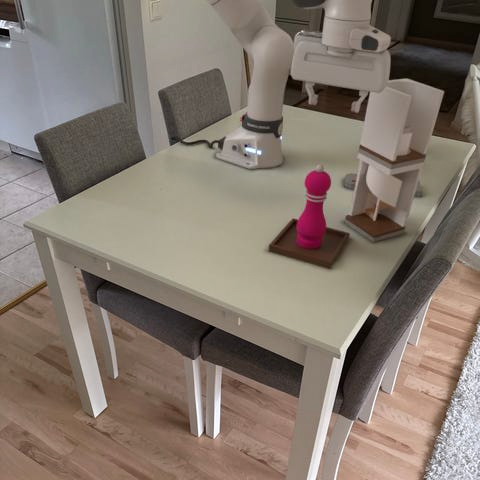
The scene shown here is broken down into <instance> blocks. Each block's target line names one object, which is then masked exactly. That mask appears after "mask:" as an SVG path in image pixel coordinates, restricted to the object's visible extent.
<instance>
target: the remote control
mask: <svg viewBox="0 0 480 480" xmlns="http://www.w3.org/2000/svg"><path fill="white" fill-rule="evenodd" d="M357 174H358V173H353V172H352V173H346V175H345V176H344V186H345V188H348V189H349V190H354V189H355V184H356V179H357ZM421 196H422V185H421V183H420V180H419V181H418V185H417V188H416V192H415V195H414V197H419V198H421Z"/></svg>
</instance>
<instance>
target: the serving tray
mask: <svg viewBox="0 0 480 480" xmlns="http://www.w3.org/2000/svg"><path fill="white" fill-rule="evenodd" d="M298 219H299V218H298ZM298 219H297V218H294V217H292V219H291V220H290V221H289V222H288V223H287V224H285V226H284V228H283V229H282V230H281V231H280V232H279V233H278V234H277V235H276V237H274V239H273V240H272V241H271V242H270V243H269V244H268V252H270V253H272V254H273V253H274V254H276V255H280V256H284V257H287V258H291V259H295V260H298V261H301V262H304V263H308V264H312V265H315V266H319V267H322V268H326V269H331V268H332V266H333V264H334V263H335V261H336V260H337V259H338V257H339V255H340V253H341V252H342V250H343V249H344V247H345V245H346V244H347V243H348V241H349V240H350V232H347V231H344V230H340V229H335V228H332V227H329V226H326V232H325V233H324V235H322V244H321V246H320V247H318V248H316V249H306V248H303V247H301V246H299V245H298V244H297V235H298V231H297V229H296V226H297V222H298Z"/></svg>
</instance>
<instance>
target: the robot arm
mask: <svg viewBox="0 0 480 480" xmlns="http://www.w3.org/2000/svg"><path fill="white" fill-rule="evenodd" d="M206 1H207V2H208V3H209V6H211V8H212V9H213V10H214V11H215V13H216V14H217V16H219V18H220V19H221V20H222V21H223V23H224V24H225V25H226V27H227V28H228V29H229V31H230V32H231V33H232V34H233V36H234V38H235V39H236V40H237V42H238V43H239V44H240V46H241V47H242V49H244V51H245V52H246V54H247V55H248V56H249V57H250V59H251V60H252V61H253V71H252V75H251V81H250V83H249V86H248V90H247V110H246V112H245V113H244V114H243V115H241V117H240V118H239V122H240V123H241V125H239V126H238V127H236V128H235V129H233V130H232V131H231V132H229V133H228V134H227V135H226V136H223V137H221V138H220V139H219V140H218V139H215V140H212V141H211V143H210V141H208V140H207V139H198V140H195V141H184V140H183V139H182V138H180V137H179V136H178V135H173V136H171V137H170V140H174V139H176V140H177V141H178V142H180V143H181V144H183V145H186V146H187V145H188V146H190V145H196V144H200V143H205V144H207V147H208V148H211V149H212V148H213V147H214V144H217V148H218V150H217V151H216V154H215V158H216V159H219V160H222V161H224V162H228V163H231V164H234V165H237V166H240V167H243V168H245V169H249V170H256V169H263V168H265V169H266V168H274V167H277V166H279V165H281V164H282V163H283V162H284V158H283V152H282V139H283V137H282V136H283V135H282V134H283V129H284V116H283V109H284V99H285V90H286V86H287V81H288V78H289V76H291V78H292V80H294V81H301V82H305V90H306V92H307V96H308V105H311V106H316V105H317V104H318V99H319V94H316V93H315V90H314V88H313V87H314V86H315V85H316V84H319V85H324V86H325V85H327V86H332V87H337V88H343V89H344V88H345V89H351V90H357V91H359V92H358V96H359V99H358V100H357V101H353V102H352V103H351V108H350V113H356V114H357V113H359V112H360V110H361V103H363V101H364V100H365V98H366V97H367V96H368V95H369V93H370V92H375V93H381V92H382V91H383V90H384V89H385V88H386V87H387V85H388V81H390V73H391V64H392V63H391V58H392V57H391V53H390V51H389V50H388V49H389V47H390V45H391V41H392V37H391V35H389V34H387V33H385V32H384V31H382V30H379V29H378V28H376V27H375V26H372V25H371V19H372V12H371V11H372V10H371V9H372V2H373V0H290V1H291V2H292V4H293V5H294V6H295V7H297V8H300V9H304V10H315V9H316V10H317V9H324V17H323V18H324V19H323V26H322V31H321V30H320V31H319V30H309V29H302V30H301V31H299V32H297V33H296V34H295V36H294V39H292V37H291V36H290V34H289V33H287V32H286V31H285V30H283V29H281V27H279V26H278V25H277V24H276V23H275V21H274V20H273V19H272V17H271V16H270V15H269V13H268V11H267V10H266V8H265V6H264V3H262V1H261V0H206Z"/></svg>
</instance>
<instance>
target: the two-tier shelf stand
mask: <svg viewBox="0 0 480 480" xmlns="http://www.w3.org/2000/svg"><path fill="white" fill-rule="evenodd" d="M444 94H445V90H443V89H440V88H436V87H434V86H431V85H427V84H425V83H421V82H419V81H415V80H413V79H410V78H399V79H389V80H388V85H387V87H386V88H385V89H384V90H383V91H382V92H381V93H375V92H369V96H368V100H367V105H366V111H365V116H364V122H363V127H362V131H361V136H360V142H359V147H358V152H357V158H356V159H358V160H359V164H358V169H357V173H356V174H357V179H356V184H355V189H353V194H352V199H351V204H350V209H349V214H346V215H345V217H344V224H346V225H347V226H349V228H352V229H353V230H355V231H356V232H357V233H359V234H360V235H362V236H363V237H364V238H366V239H368V240H369V241H370V242H372V243H375V242H379V241H383V240H385V239H388V238H392V237H397V236H399V235H402V234H404V233H405V230H406V226H407V222H408V219H409V217H410V214H411V213H410V212H411V208H412V206H413V201H414V199H415V196H414V195H415V192H416V188H417V185H418V181H419V182H420V177H421V174H422V171H423V167H424V163H425V160H426V156H427V153H428V150H429V145H430V143H431V140H432V136H433V132H434V128H435V125H436V123H437V122H436V121H437V119H438V115H439V111H440V107H441V104H442V101H443V98H444Z"/></svg>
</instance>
